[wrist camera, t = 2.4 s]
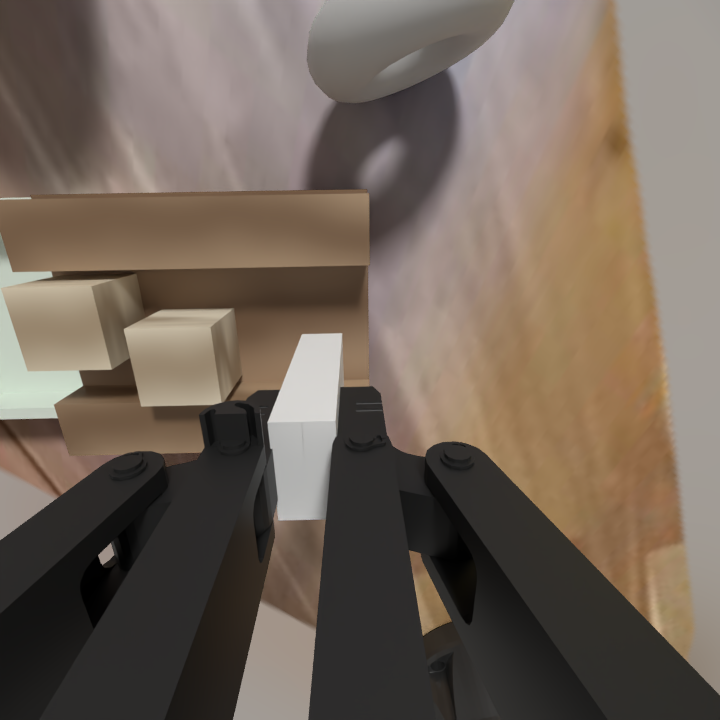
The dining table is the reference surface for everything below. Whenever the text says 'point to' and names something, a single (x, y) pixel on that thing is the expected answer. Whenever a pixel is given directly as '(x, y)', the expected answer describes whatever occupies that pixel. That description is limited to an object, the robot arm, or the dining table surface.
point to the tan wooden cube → (74, 320)
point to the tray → (7, 366)
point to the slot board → (203, 288)
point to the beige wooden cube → (185, 356)
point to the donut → (394, 42)
